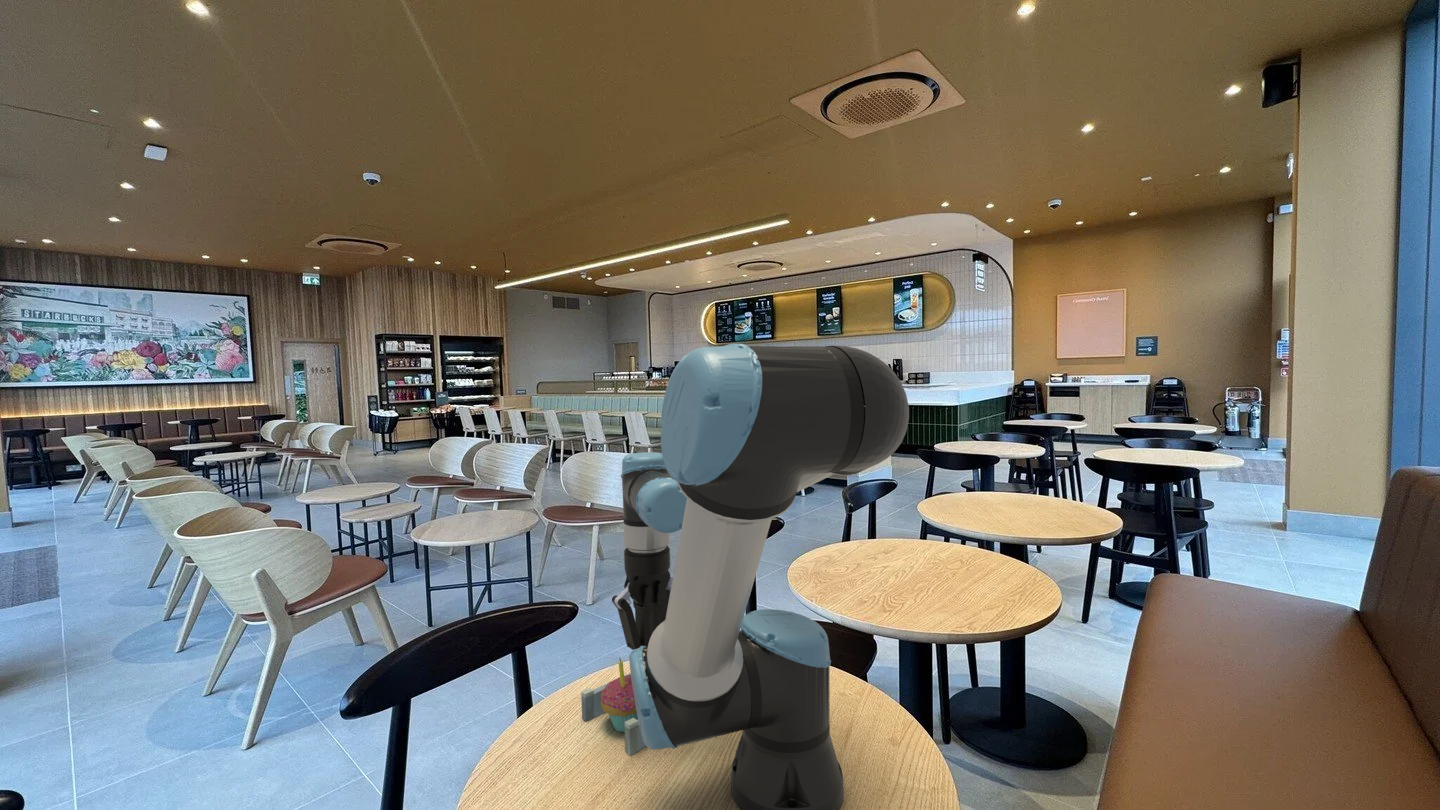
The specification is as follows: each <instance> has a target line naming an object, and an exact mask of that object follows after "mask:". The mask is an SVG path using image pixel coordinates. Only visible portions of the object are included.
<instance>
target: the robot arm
mask: <svg viewBox="0 0 1440 810" xmlns="http://www.w3.org/2000/svg"><path fill="white" fill-rule="evenodd" d="M660 416H661V417H660V421H661V422H662V428H661V429H660V445H661V446H660V447H661V452H654V451H653V452H650V451H649V452H648V451H644V452H643V451H642V452H636V453H635V452H634V453H633V452H632V453H629V454H626V455H625V456H624V457H623V458H622V461H621V465H622V466H621V474H620V478H621V486H622V509H623V510H622V511H623V512H622V513H623V545H624V547H625V549H624V550H623V556H624V557H623V558H624V559H623V561H624V562H623V563H624V564H623V565H624V571H625V575H626V577H625V578H626V579H625V580H624V581H625V582H624V583H623V584H624V585H623V590H622V591H621V593H620V594H619V595H618V594H617V595H613V597H612V598H611V602H612V604H613V605H614V607H616V609H617V613H618V615H619V619H620V624H621V628H622V631H623V635H624V639H625V642H626V647H627V648H629V649H631V652H630V653H629V660H628V661H629V663H628V664H629V671H630V673H631V679H632V686H633V693H634V699H635V705H636V710H637V716H638V721H639V725H640V730H641V734H642V738H643V741H644V743H645V745H646V747H647V748H648V749H649V750H653V751H658V750H663V749H670V748H671V749H677V748H678V747H680V746H684V745H688V744H692V743H693V744H694V743H697V742H701V741H704V740H709V739H713V738H716V737H721V736H725V735H729V734H733V733H738V732H740V731H742V733H741V735H740V739H739V741H738V745H737V747H736V748H737V749H736V751H735V755H734V758H733V761H732V764H731V770H730V771H731V772H730V784H731V785H730V787H731V788H730V789H731V795H732V798H733V799H734V801H735V804H736V805H737V806H738V807H739V809H740V810H839V809H840V807H841V806H842V803H843V800H844V776H843V775H844V774H843V769H842V767H841V764H840V762H839V760H838V758H837V755H836V751H835V748H834V744H833V741H832V737H831V731H830V730H831V727H830V723H831V721H830V719H831V717H830V716H831V713H830V710H831V709H830V706H831V704H830V703H831V702H830V700H831V699H830V696H831V694H830V691H831V690H830V687H831V686H830V684H831V683H830V681H831V680H830V677H831V676H830V666H831V663H832V660H831V654H830V643H829V638H828V637H829V636H828V634H827V633H826V631H825V629H824V628H823V626H821V625H820V624H819V623H818V622H817V621H815V620H813V619H811V618H809V617H807V616H805V615H802V614H799V613H796V612H793V611H787V610H782V609H774V608H773V609H771V608H765V609H763V608H762V609H757V610H753V611H749V612H748V613H746V611H747V606H748V603H749V599H750V596H751V592H752V590H753V586H754V582H755V579H756V576H757V572H758V568H759V565H760V561H761V558H762V554H763V552H764V548H765V545H766V541H767V538H768V534H769V530H770V527H771V523H772V520H773V519H775V518H777V517H779V516H780V515H783V514H785V512H787V511H788V510H789V508H790V507H791V506H792V505H793V502H794V501H795V498H796V496H797V494H798V493H799V492H800V491H803V490H805V489H807V488H809V487H811V486H813V485H814V484H817V483H819V482H821V481H823V480H825V479H826V478H829V477H831V476H833V475H835V476H843V477H844V476H845V477H846V476H848V477H849V476H852V475H856V474H860V473H861V472H863V471H865V470H868V469H869V468H872V467H874V466H876V465H879V464H881V463H882V462H884V461H886V460H887V459H888V458H890V457H891V456H892V455H893V453H895V452H896V450H898V448H899V447H900V445H902V442H903V440H904V438H905V436H906V433H907V430H908V424H909V422H910V421H909V420H910V407H909V402H908V397H907V393H906V390H905V389H904V386H903V384H902V382H901V379H900V378H899V377H898V375H897V374H896V373H895V371H894V370H892V367H890V366H889V365H888V364H887V363H886V362H884V361H883V360H881V359H880V358H879V357H877V356H875V355H873V354H871V353H870V352H868V351H865V350H862V349H859V348H857V347H851V346H847V345H828V346H827V345H826V346H814V345H812V346H809V345H808V346H806V345H805V346H802V345H801V346H800V345H799V346H796V345H794V346H791V345H790V346H785V345H783V346H778V345H777V346H773V345H772V346H771V345H767V346H766V345H765V346H762V345H755V346H753V345H747V344H744V343H729V344H726V345H723V346H704V347H703V346H702V347H699V348H694V349H693V350H691V351H690V352H689V353H687V354H686V355H684V356H682V358H681V359H680V360H679V361H678V362H677V364H676V365H675V367H674V369H673V371H672V373H671V375H670V377H669V380H668V382H667V386H666V389H665V392H664V398H663V403H662V409H661V415H660ZM680 530H681V531H680ZM679 531H680V535H679V541H678V545H677V552H676V559H675V564H674V568H673V573H672V576H671V573H670V570H669V569H670V567H671V548H670V546H669V544H670V542H671V538H670V536H671V535H670V534H672V533H673V534H674V533H676V532H679ZM631 599H632V601H631ZM631 604H632V605H633V608H634V612H633V609H632V606H631ZM745 613H746V614H745Z"/></svg>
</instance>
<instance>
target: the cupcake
mask: <svg viewBox="0 0 1440 810" xmlns="http://www.w3.org/2000/svg"><path fill="white" fill-rule="evenodd" d="M618 658H619V659H618V660H619V661H618V669H619V670H618V671H619V677H617V678H614V679H613V680H610V681H608V683H609V684H608V685H606V687H605V688H604V689H603V691H602V692H601V707H602V709H603V711H604V712H605V713H606V714H608V716H609V718H610V721H611V723H612V726H613V728H614V729H615V730H616V731H617V732H621V733H625V722H626V721H628V720H630V719H632V718H635V719H636V720H637V719H638V716H637V710H636V705H635V699H634V693H633V686H632V679H631V675H627V674H626V675H627V676H625V671H624V662H623V660H621V656H620V657H618ZM605 713H604V714H605Z"/></svg>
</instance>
